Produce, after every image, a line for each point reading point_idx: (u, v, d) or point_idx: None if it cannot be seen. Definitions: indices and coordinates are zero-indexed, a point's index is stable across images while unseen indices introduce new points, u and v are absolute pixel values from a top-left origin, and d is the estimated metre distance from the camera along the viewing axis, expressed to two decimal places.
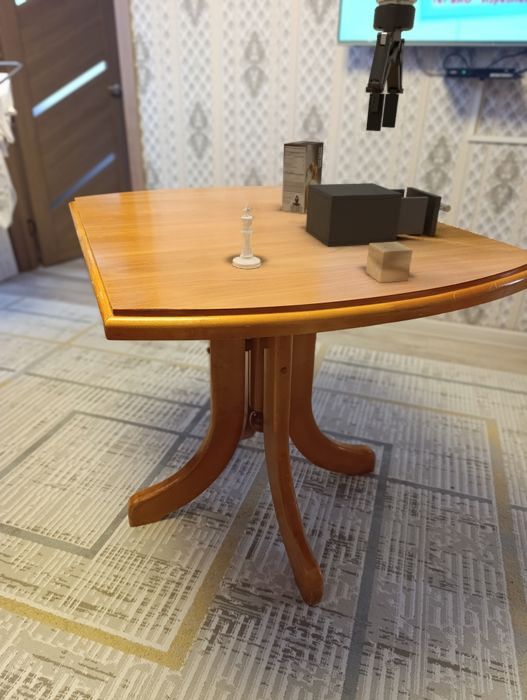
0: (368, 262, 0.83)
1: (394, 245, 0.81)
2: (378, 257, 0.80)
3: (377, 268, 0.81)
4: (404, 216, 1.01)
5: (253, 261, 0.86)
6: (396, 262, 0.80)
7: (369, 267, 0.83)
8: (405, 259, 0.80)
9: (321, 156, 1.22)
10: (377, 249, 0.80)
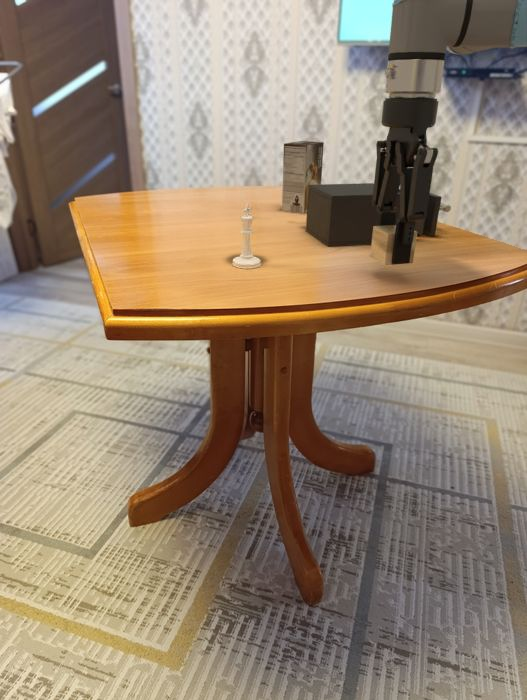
0: (372, 245, 0.82)
1: None
2: (383, 240, 0.78)
3: (381, 251, 0.79)
4: None
5: (253, 261, 0.86)
6: None
7: (373, 250, 0.82)
8: None
9: (321, 156, 1.22)
10: (381, 231, 0.79)
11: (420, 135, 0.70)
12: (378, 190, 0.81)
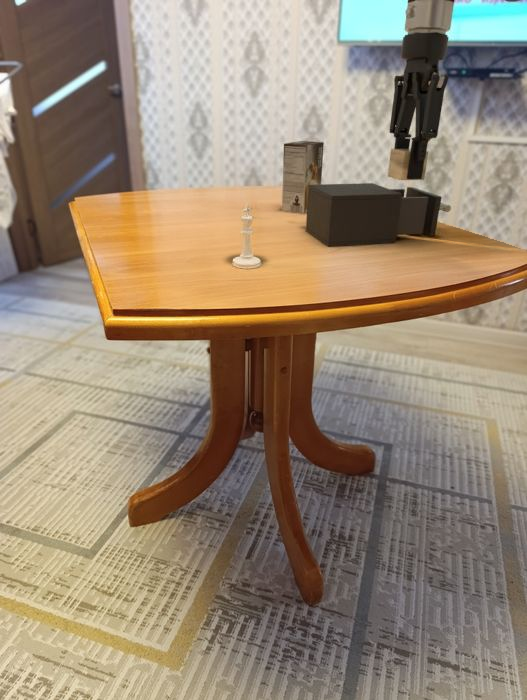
0: (390, 166, 0.97)
1: None
2: (400, 158, 0.94)
3: (398, 168, 0.95)
4: (404, 216, 1.01)
5: (253, 261, 0.86)
6: None
7: (391, 170, 0.97)
8: None
9: (321, 156, 1.22)
10: (398, 151, 0.94)
11: (433, 65, 0.86)
12: (395, 119, 0.97)
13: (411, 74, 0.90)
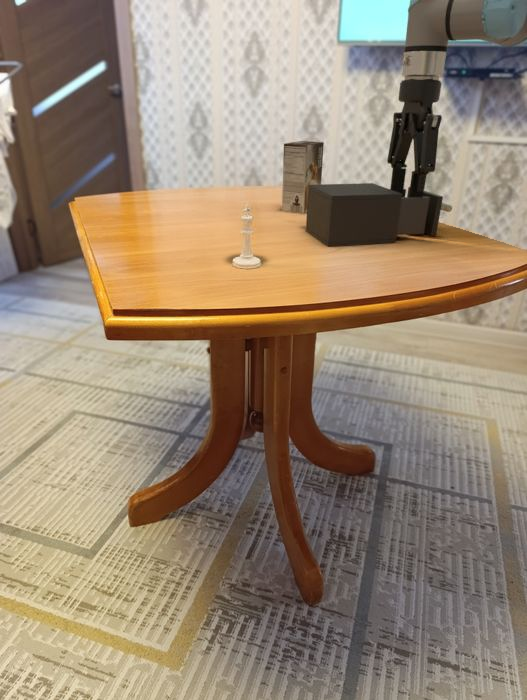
0: None
1: None
2: None
3: None
4: (406, 216, 1.01)
5: (253, 261, 0.86)
6: None
7: None
8: None
9: (321, 156, 1.22)
10: None
11: (428, 108, 0.94)
12: (392, 151, 1.06)
13: (408, 115, 0.98)
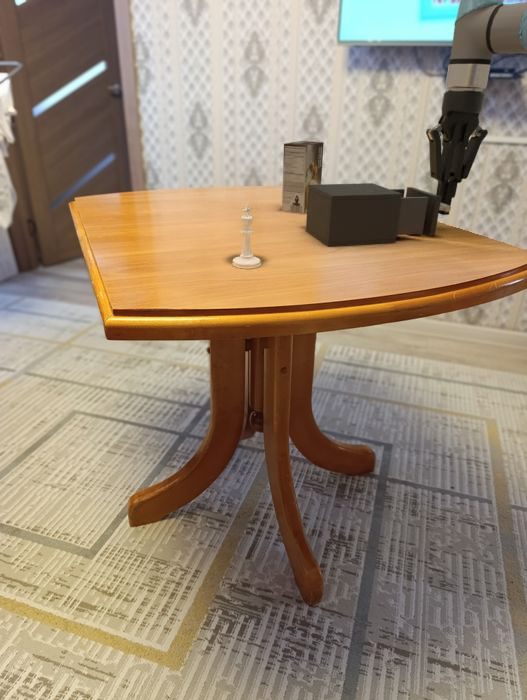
0: None
1: None
2: None
3: None
4: (404, 216, 1.01)
5: (253, 261, 0.86)
6: None
7: None
8: None
9: (321, 156, 1.22)
10: None
11: (443, 117, 1.00)
12: None
13: None
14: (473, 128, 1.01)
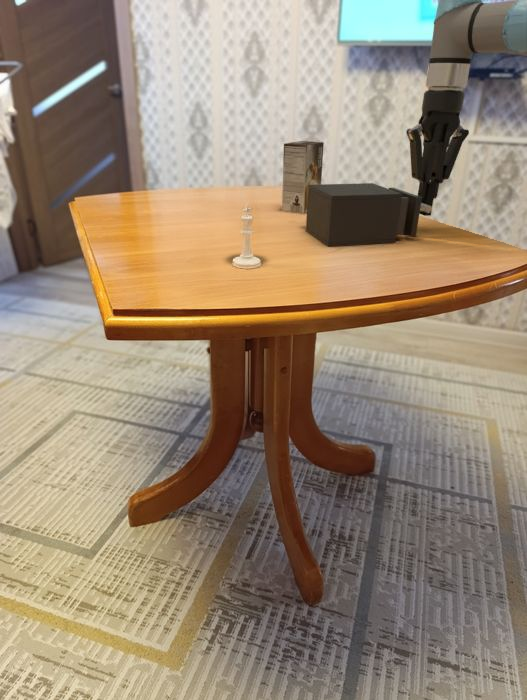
0: None
1: None
2: None
3: None
4: None
5: (253, 261, 0.86)
6: None
7: None
8: None
9: (321, 156, 1.22)
10: None
11: (423, 117, 0.99)
12: None
13: None
14: (454, 128, 1.00)
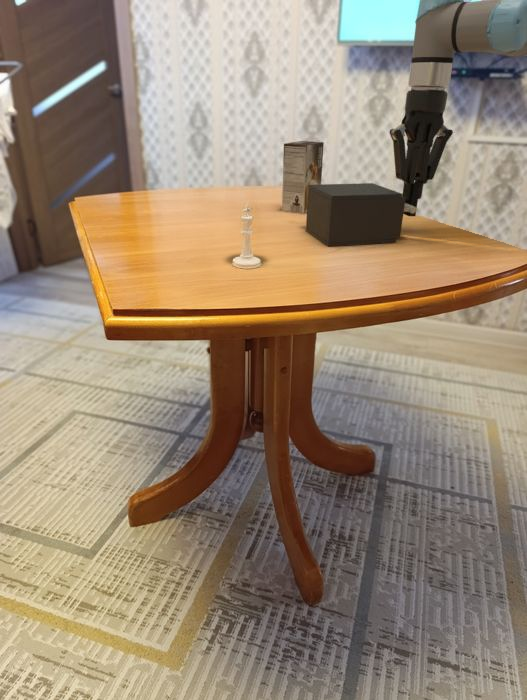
0: None
1: None
2: None
3: None
4: None
5: (253, 261, 0.86)
6: None
7: None
8: None
9: (321, 156, 1.22)
10: None
11: (406, 117, 0.98)
12: None
13: None
14: (437, 128, 0.99)
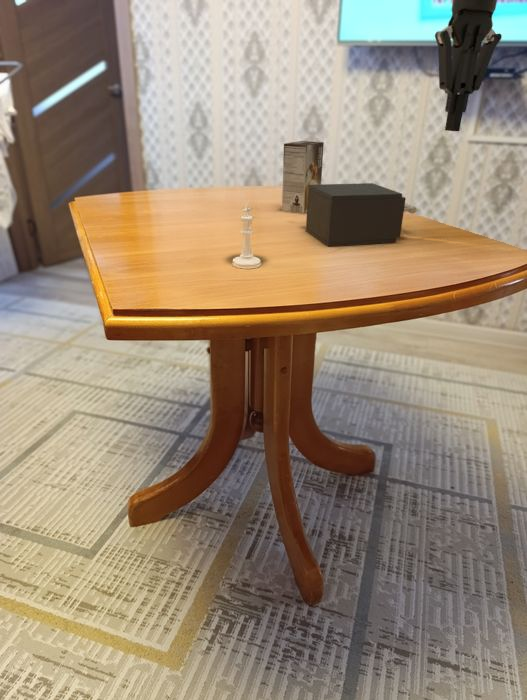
0: None
1: None
2: None
3: None
4: None
5: (253, 261, 0.86)
6: None
7: None
8: None
9: (321, 156, 1.22)
10: None
11: (453, 17, 0.92)
12: None
13: None
14: (486, 31, 0.93)
